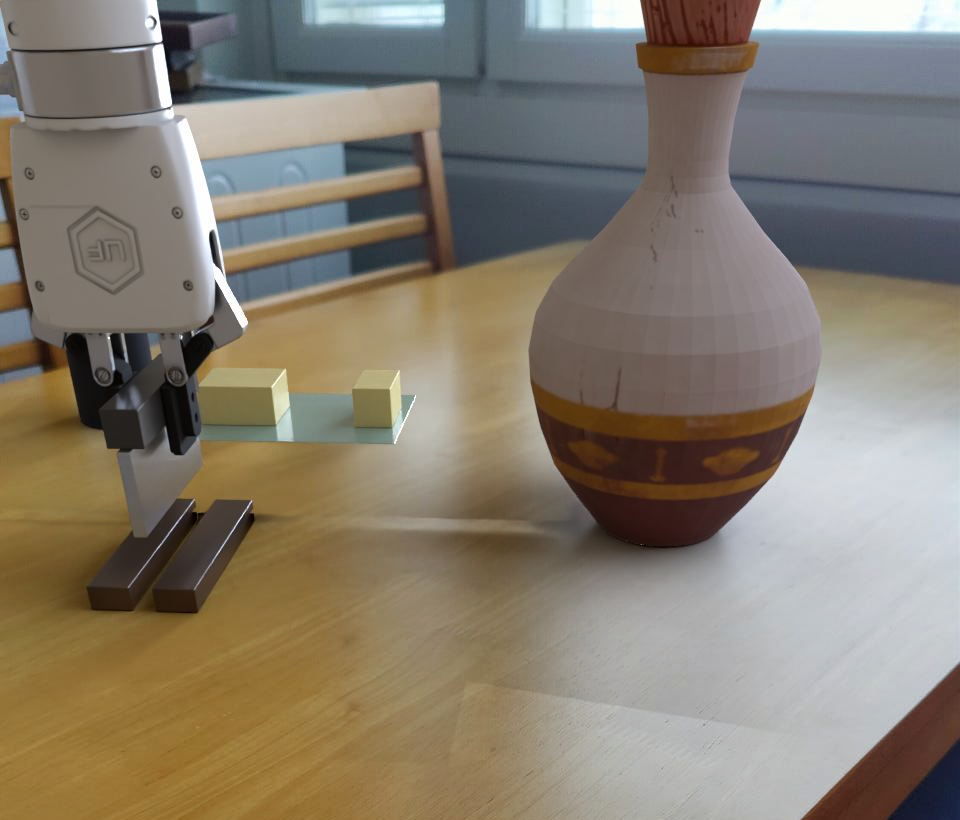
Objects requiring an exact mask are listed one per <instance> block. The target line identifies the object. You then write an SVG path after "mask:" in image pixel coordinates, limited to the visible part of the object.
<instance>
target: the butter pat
mask: <svg viewBox="0 0 960 820" xmlns="http://www.w3.org/2000/svg"><path fill="white" fill-rule="evenodd" d="M401 387H402V386H401V371H400V370H399V369H363V370H362V371H361V373H360V374H359V376H358V377H357V379H356V381H355V383H354V384H353V386H352V388H351V394H352V397H353V410H354V423H355V427H365V428H392V427H393V425H394V423H395V421H396V419H397V416H398V414H399V412H400V410H401V408H402V405H401V395H402V388H401Z"/></svg>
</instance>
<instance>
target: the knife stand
mask: <svg viewBox="0 0 960 820" xmlns="http://www.w3.org/2000/svg"><path fill="white" fill-rule="evenodd" d="M253 502H254V501H253V500H252V499H226V498H225V499H221V498H216V499H214V500H213V502H212V503H211V505H210V507H209V508H208V509H207V511H206V512H205V514H204V515H203V516H202V517H201V519H200V521H199V522H198V524H196V523H197V521H198V520H199V515H198V511H194V510H195V509H196V507H197V504H196V499H195V498H179V497H178V498H177V499H176V501H175V502H174V503H173V504H172V506H171V507H170V508H169V510H168V511H167V512H166V513H165V515H164V516H163V517H162V518H161V520H160V521H159V522H158V524H157V525H156V526H155V527H154V529H153V530H152V531H151V533H150V534H149V535H148V536H147V537H146V538H135V537H134V535H133V531H132V530H131V531H130V532H129V533H128V535H126V537H125V538H124V540H123V541H122V542H121V543H120V544H119V546H118V547H117V548H116V549H115V550H114V552H113V553H112V554H111V555H110V557H109V558H108V559H107V560H106V561H105V563H104V564H103V566H101V568H100V569H99V570H98V571H97V573H95V575H94V576H93V578H92V579H91V580H90V581H89V582H88V584H87V585H86V592H87V596H88V601H89V606H90V609H91V610H103V611H104V610H105V611H106V610H107V611H134V609H135V608H136V606H137V605H138V604H139V603H140V601H141V599H142V598H143V596H144V595H145V594H146V592H147V591H148V590H149V588H150V587H151V585H152V584H153V582H155V580H156V579H157V577H158V576H159V574H160V573H161V572H162V570H163V569H164V568H165V566H166V565H167V563H168V562H169V560H170V559H171V558H172V556H173V555H174V553H175V552H176V551H177V550H178V548H179V546H180V545H181V544H182V542H183V541H184V540H185V539H186V540H185V541H184V543H183V544H182V546H181V547H180V549H179V550H178V551H177V553H176V554H175V555H174V557H173V558H172V559H171V561H170V562H169V564H168V565H167V567H166V568H165V570H164V571H163V572H162V573H161V575H160V577H159V578H158V580H157V581H156V582H155V583H154V585H153V586H152V588H151V591H152V596H153V602H154V607H155V611H156V612H171V613H172V612H173V613H174V612H175V613H199V611H200V610H201V608H202V606H203V605H204V604H205V602H206V601H207V598H208V597H209V596H210V595H211V592H212V590H213V589H214V587H215V586H216V584H217V582H218V581H219V580H220V578H221V576H222V574H223V572H224V571H225V570H226V568H227V566H228V565H229V563H231V562H230V561H231V560H232V558H233V557H234V556H235V554H236V552H237V550H239V547H240V546H241V544H242V542H243V541H244V539H245V537H246V536H247V535H248V532H249V531H250V529H251V528H252V526H253V525H254V523H255V522H256V516H255V513H254V512H252V511H253V509H254V503H253ZM195 524H196V526H195ZM193 527H195V528H194V529H193V530H192V528H193ZM191 530H192V532H191V533H190V535H189V536H188V537H187V535H188V534H189V532H190V531H191ZM186 537H187V538H186Z"/></svg>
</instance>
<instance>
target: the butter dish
mask: <svg viewBox="0 0 960 820" xmlns="http://www.w3.org/2000/svg"><path fill="white" fill-rule="evenodd" d="M288 393H289V402H290V406H289V408H288V409H287V411H286V412H285V413H284V415H283V416H282V418H281V419H280V421H279V422H278V424H277V425H276V426H258V425H203V424H202V419H201V433H200V434H199V440H200V442H203V441H204V442H251V443H253V442H256V443H301V444H303V443H306V444H307V443H308V444H309V443H311V444H314V443H315V444H359V445H360V444H361V445H362V444H365V445H369V444H370V445H395V444H396V443H397V441H398V438H399V435H400V433H401V431H402V428H403V426H404V424H405V422H406V419H407V417H408V416H409V413H410V410H411V408H412V406H413V405H414V402H415V399H416V398H417V394H401V405H402V408H401V410H400V412H399V414H398V416H397V419H396V421H395V423H394V425H393V427H392V428H365V427H355V423H354V410H353V397H352V393H310V392H309V393H308V392H307V393H306V392H304V393H303V392H301V393H300V392H288ZM198 405H199V401H198ZM199 411H200V406H199ZM200 417H201V412H200Z"/></svg>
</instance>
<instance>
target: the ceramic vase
mask: <svg viewBox="0 0 960 820" xmlns="http://www.w3.org/2000/svg"><path fill="white" fill-rule="evenodd" d="M639 1H640V2H639V3H640V8H641V14H642V20H643V26H644V33H645V37H646V39H645V40H646V41H642V42H641V41H640V42H637V43H635V52H636V61H637V68H638V69H640V70H642V74H643V75H642V76H643V81H644V88H645V96H646V106H647V107H646V109H647V117H648V119H647V120H648V122H647V123H648V124H647V127H648V128H647V132H648V133H647V148H648V149H647V162H646V163H647V164H646V171H645V173H644V176H643V179H642V181H641V184H640V186H639V187H638V188H637V189H636V190H635V191H634V193H633V194H632V195H631V196H630V197H629V198H628V199H627V201H626V202H625V203H624V204H623V206H622V207H620V209H619V210H618V211H617V212H616V213H615V215H614V216H613V217H612V218H611V219H610V220H609V222H608V223H607V224H606V225H605V226H604V227H603V229H602V230H600V232H599V233H598V234H597V235H596V236H594V237H593V239H592V240H590V241H589V242H588V243H587V244H586V245H585V246H584V247H583V248H582V249H581V250H580V251H579V252H578V253H577V254H576V255H575V256H574V257H573V258H572V259H571V261H570V262H568V264H567V265H566V266H565V267H564V268H563V269H561V271H560V272H559V274H558V275H556V277H555V278H554V279H553V280H552V281H551V283H550V285H549V287H548V288H547V290H546V292H545V294H544V296H543V297H542V300H541V301H540V303H539V305H538V307H537V309H536V310H535V314H534V318H533V322H532V323H533V324H532V329H531V334H530V339H529V340H530V341H529V345H528V349H527V350H528V365H529V368H528V369H529V381H530V382H529V383H530V388H531V392H532V396H533V400H534V405H535V410H536V414H537V419H538V423H539V426H540V430H541V433H542V435H543V439H544V441H545V443H546V446H547V449H548V451H549V454H550V457H551V460H552V462H553V465H554V466H555V467H556V469H557V470H558V472H559V474H560V475H561V476H562V477H563V479H564V481H565V482H566V483H567V485H568V486H569V488H570V489H571V490H572V492H573V493H574V495H575V496H576V498H577V499H578V500H579V502H580V503H581V504H582V505H583V506H584V508H585V509H586V510H587V512H588V513H589V514H590V515H591V516H592V518H593V519H594V520H595V522H596V523H597V524H598V525H599V527H600V528H601V529H602V530H603V531H604V532H605V533H606V534H608V535H609V536H611V537H613V538H616V539H618V540H620V541H623V542H626V541H627V542H626V543H629V542H630V544H633V543H636V544H635V545H638V544H642V545H641V546H644V545H650V546H649V547H654V546H675V547H683V546H682V545H684V546H687V545H688V546H689V545H693V544H698V543H701V542H703V541H706V540H708V539H710V538H713V537H714V536H715V535H717V533H718V532H719V531H720V530H722V529H723V527H724V526H726V525H727V524H728V523H729V522H730V521H731V520H732V519H733V518H734V517H735V516H736V515H738V513H739V512H740V511H741V510H743V508H744V507H745V506H747V505H748V503H750V501H751V500H753V498H754V497H755V496H756V495H757V494H758V493H759V492H760V491H761V489H762V488H764V486H765V485H766V484H767V483H768V482H769V481H770V480H771V479H772V477H773V476H775V474H776V472H777V471H778V470H779V468H780V466H781V464H782V462H783V461H784V458H785V457H786V455H787V453H788V451H789V449H790V448H791V446H792V444H793V442H794V441H795V439H796V437H797V436H798V433H799V431H800V429H801V426H802V423H803V421H804V418H805V415H806V413H807V410H808V407H809V405H810V403H811V400H812V398H813V395H814V391H815V387H816V384H817V383H816V382H817V378H818V375H819V369H820V364H821V361H822V329H821V328H822V327H821V326H822V325H821V318H820V315H819V312H818V310H817V308H816V305H815V302H814V300H813V297H812V294H811V293H810V289H809V287H808V285H807V283H806V282H805V280H804V279H803V278H802V276H801V275H800V274H799V272H798V271H797V270H796V268H795V267H794V266H793V265H792V263H791V262H790V260H789V259H788V258H787V257H786V256H785V255H784V254H783V252H782V251H781V249H779V248H778V247H777V245H776V244H775V243H774V242H773V241H772V240H771V239H770V237H769V236H768V235H767V234H766V233H765V231H764V230H763V229H762V228H761V226H760V225H759V223H758V222H757V220H756V218H755V217H754V216H753V214H752V213H751V211H749V209H748V208H747V206H746V205H745V204H744V201H743V200H742V199H741V197H740V196H739V195H738V193H737V192H736V190H735V189H734V188H733V186H732V181H731V177H730V173H729V167H730V166H729V161H730V151H731V144H732V138H733V133H734V131H733V130H734V125H735V119H736V114H737V110H738V106H739V102H740V99H741V95H742V91H743V87H744V84H745V81H746V78H747V75H748V72H749V70H750V69H752V68H754V65H755V62H756V58H757V55H758V51H759V47H760V42H758V41H752V40H750V38H751V34H752V30H753V27H754V23H755V21H756V18H757V15H758V12H759V9H760V5H761V2H762V0H639ZM679 545H680V546H679Z"/></svg>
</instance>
